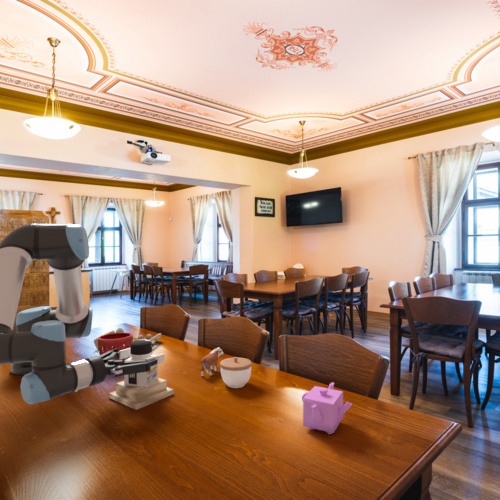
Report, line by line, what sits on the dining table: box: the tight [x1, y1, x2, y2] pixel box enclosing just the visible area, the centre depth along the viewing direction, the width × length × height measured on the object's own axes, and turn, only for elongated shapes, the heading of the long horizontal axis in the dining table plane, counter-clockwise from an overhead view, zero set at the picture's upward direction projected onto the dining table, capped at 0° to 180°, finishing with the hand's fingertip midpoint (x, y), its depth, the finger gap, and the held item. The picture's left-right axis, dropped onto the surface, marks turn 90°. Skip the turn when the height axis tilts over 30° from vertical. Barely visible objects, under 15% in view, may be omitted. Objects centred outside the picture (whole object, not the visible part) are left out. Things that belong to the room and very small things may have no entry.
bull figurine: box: [200, 347, 224, 377], centre depth 136 cm, size 4×13×8 cm, turn 155°
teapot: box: [301, 381, 353, 434], centre depth 95 cm, size 18×13×10 cm
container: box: [123, 338, 159, 387], centre depth 114 cm, size 8×8×13 cm
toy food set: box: [93, 327, 162, 350], centre depth 172 cm, size 25×18×8 cm
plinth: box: [108, 377, 174, 411], centre depth 114 cm, size 14×14×4 cm
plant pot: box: [97, 332, 134, 366], centre depth 144 cm, size 13×13×12 cm
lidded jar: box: [219, 356, 253, 389], centre depth 123 cm, size 11×11×9 cm
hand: (149, 354), depth 117 cm, fingers open, 13 cm apart
